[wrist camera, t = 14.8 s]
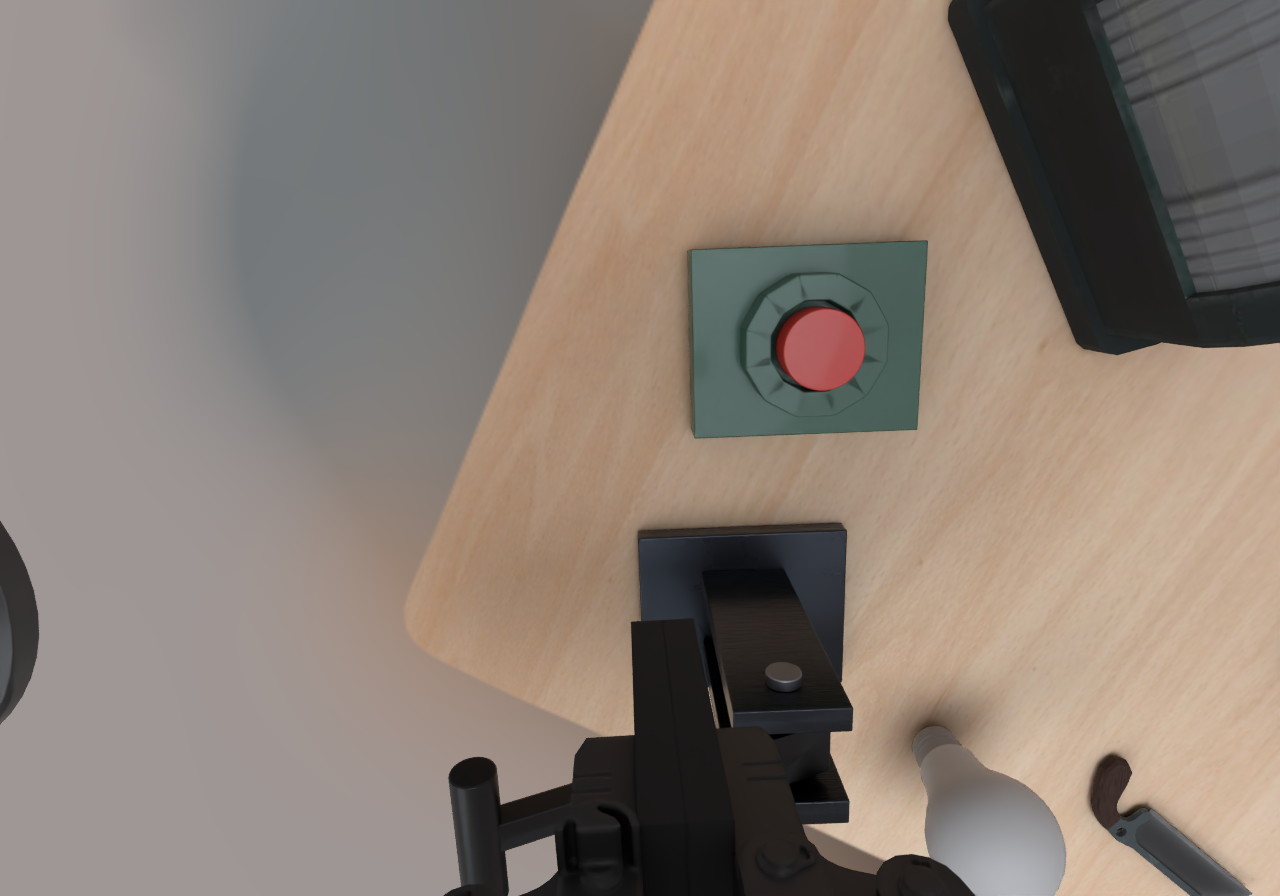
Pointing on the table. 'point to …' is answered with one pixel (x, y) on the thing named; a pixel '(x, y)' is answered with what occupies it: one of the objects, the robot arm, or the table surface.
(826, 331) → the button
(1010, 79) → the light fixture
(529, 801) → the switch lever
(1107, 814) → the knife
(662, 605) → the switch bracket
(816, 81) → the table surface
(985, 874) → the lightbulb
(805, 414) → the button box
